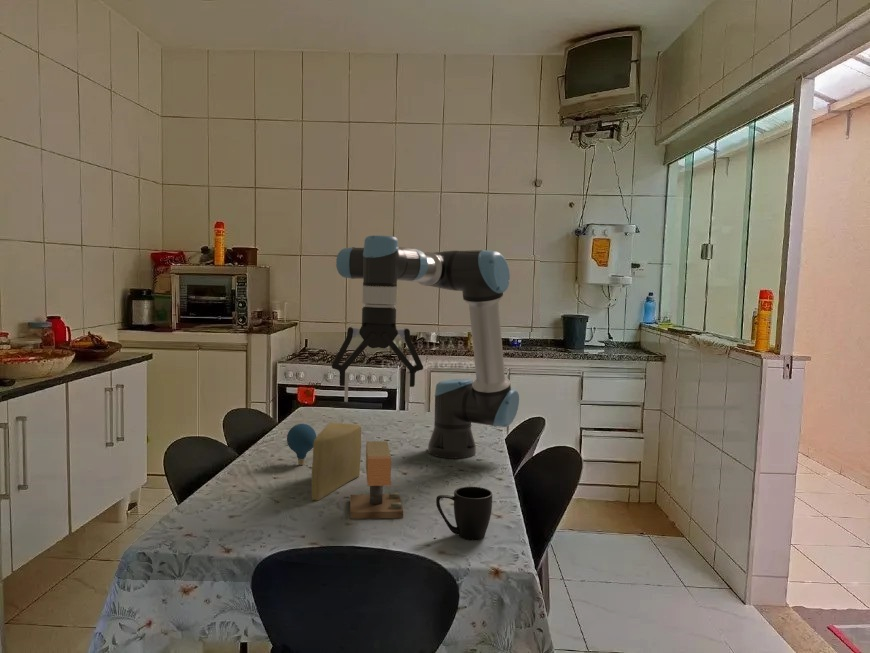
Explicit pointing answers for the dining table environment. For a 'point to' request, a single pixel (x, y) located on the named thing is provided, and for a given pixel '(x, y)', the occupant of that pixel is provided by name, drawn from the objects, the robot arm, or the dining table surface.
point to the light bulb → (301, 440)
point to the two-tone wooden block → (378, 463)
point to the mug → (469, 511)
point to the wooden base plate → (376, 505)
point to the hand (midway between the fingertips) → (376, 401)
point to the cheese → (335, 458)
